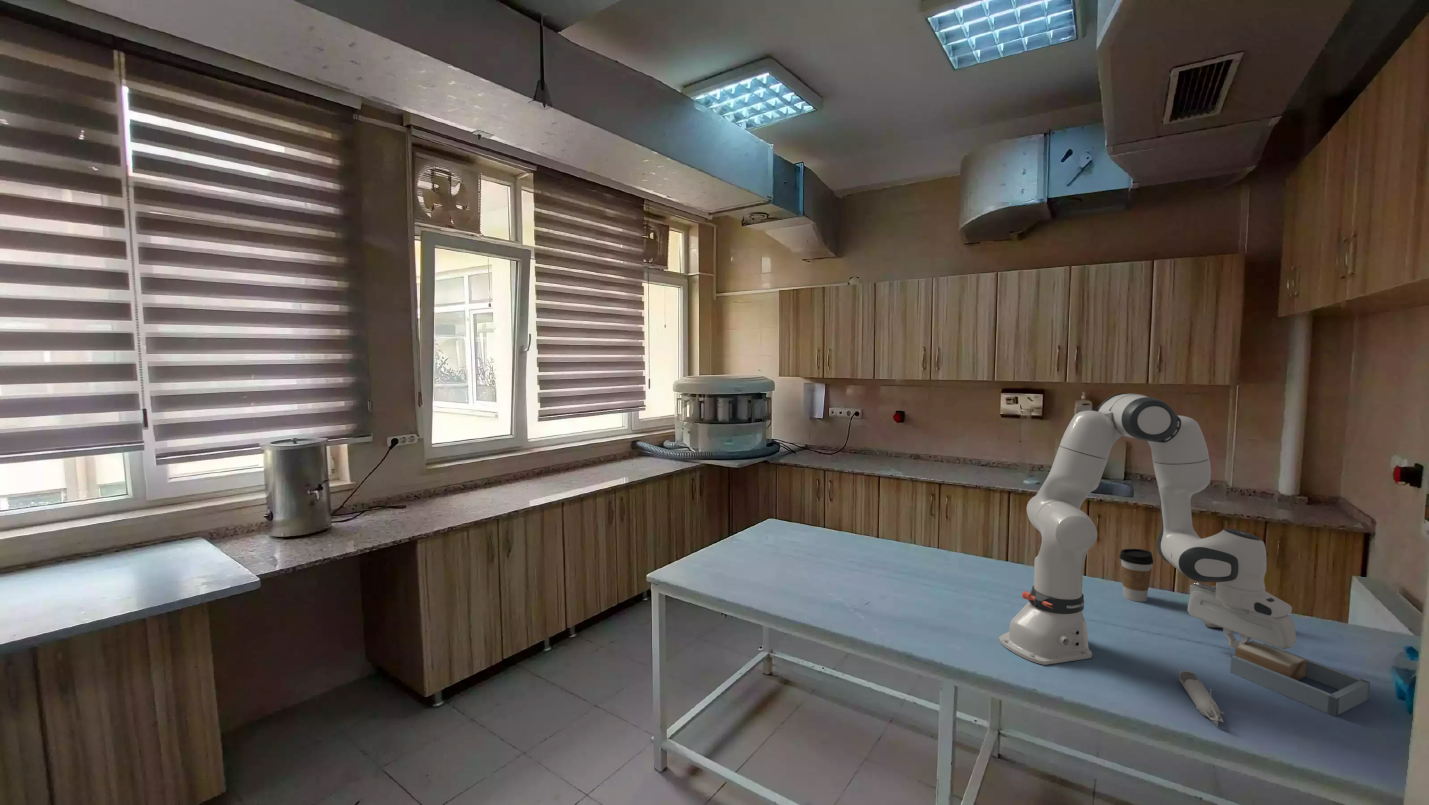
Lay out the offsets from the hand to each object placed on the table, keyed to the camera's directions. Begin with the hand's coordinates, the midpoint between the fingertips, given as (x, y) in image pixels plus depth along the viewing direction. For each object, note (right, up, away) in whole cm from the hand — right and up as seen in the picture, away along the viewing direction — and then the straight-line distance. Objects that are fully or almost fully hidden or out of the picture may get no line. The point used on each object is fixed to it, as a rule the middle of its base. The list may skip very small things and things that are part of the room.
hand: (1236, 648), depth 138 cm
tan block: (+2, -4, -6) cm, 7 cm away
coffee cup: (+2, 0, +36) cm, 36 cm away
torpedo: (-23, -6, -16) cm, 28 cm away
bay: (+4, -4, -10) cm, 12 cm away
